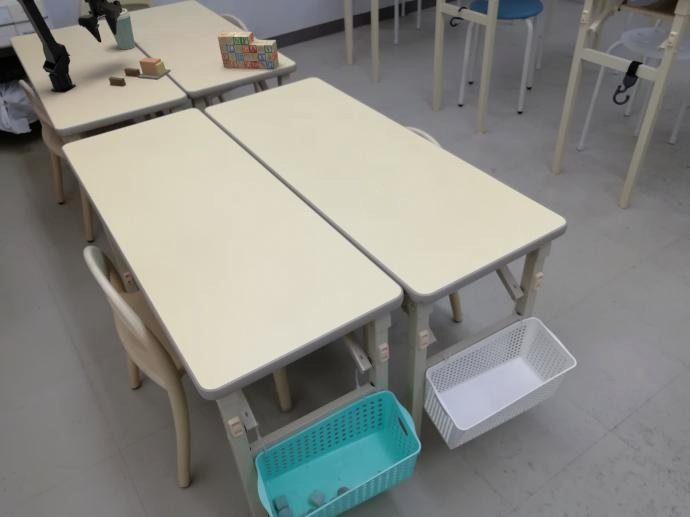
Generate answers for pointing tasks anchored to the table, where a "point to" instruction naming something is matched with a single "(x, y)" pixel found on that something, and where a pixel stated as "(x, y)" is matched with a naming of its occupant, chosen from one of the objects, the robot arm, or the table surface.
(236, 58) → the stack of blocks
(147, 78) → the mat
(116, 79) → the rail left
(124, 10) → the disposable coffee cup
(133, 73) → the rail right
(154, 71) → the plug block
